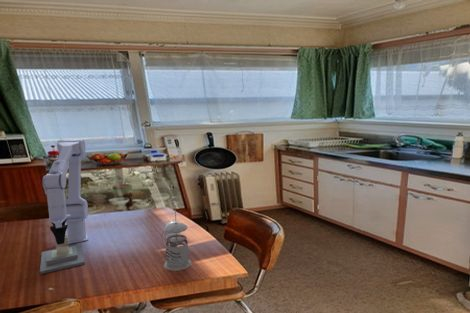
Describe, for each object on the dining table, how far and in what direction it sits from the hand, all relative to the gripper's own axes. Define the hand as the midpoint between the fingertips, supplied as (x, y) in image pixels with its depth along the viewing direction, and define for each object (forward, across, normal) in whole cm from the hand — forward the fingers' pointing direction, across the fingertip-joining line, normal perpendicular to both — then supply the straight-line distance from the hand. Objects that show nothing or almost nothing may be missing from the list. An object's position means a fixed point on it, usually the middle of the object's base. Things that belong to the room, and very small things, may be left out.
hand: (60, 240), depth 119 cm
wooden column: (+5, 0, 0) cm, 5 cm away
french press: (+8, -26, -36) cm, 45 cm away
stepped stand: (+8, 0, 0) cm, 8 cm away
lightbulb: (+8, -12, -40) cm, 42 cm away
